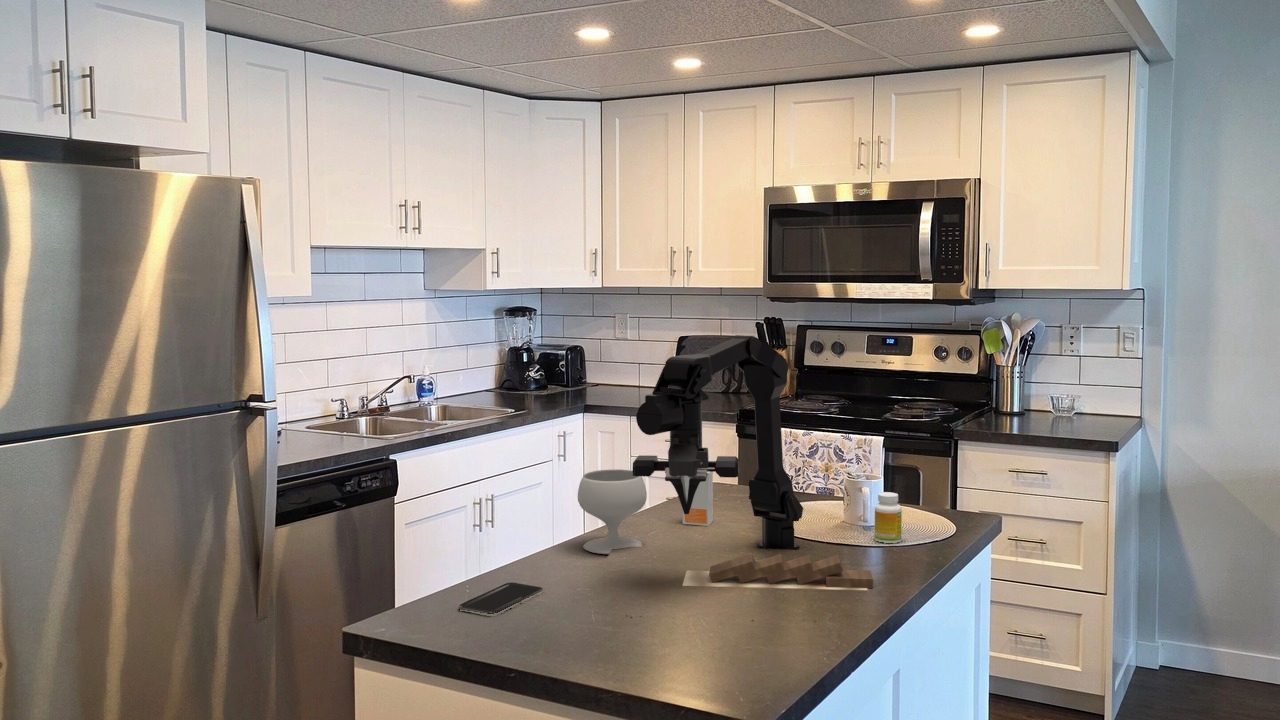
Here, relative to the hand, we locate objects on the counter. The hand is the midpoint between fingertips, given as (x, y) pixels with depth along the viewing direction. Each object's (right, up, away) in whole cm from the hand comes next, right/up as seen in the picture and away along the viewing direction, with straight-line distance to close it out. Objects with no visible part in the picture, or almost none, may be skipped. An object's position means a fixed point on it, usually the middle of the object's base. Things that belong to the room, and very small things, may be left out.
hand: (686, 513), depth 189 cm
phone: (-32, -15, -7) cm, 36 cm away
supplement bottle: (+42, -10, +28) cm, 51 cm away
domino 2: (+9, -11, 0) cm, 14 cm away
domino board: (+16, -13, -1) cm, 20 cm away
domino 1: (+4, -11, +1) cm, 12 cm away
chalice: (-14, -11, +25) cm, 31 cm away
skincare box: (+4, -9, +44) cm, 45 cm away
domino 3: (+14, -11, -1) cm, 18 cm away
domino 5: (+24, -11, -3) cm, 27 cm away
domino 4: (+20, -11, -1) cm, 22 cm away
